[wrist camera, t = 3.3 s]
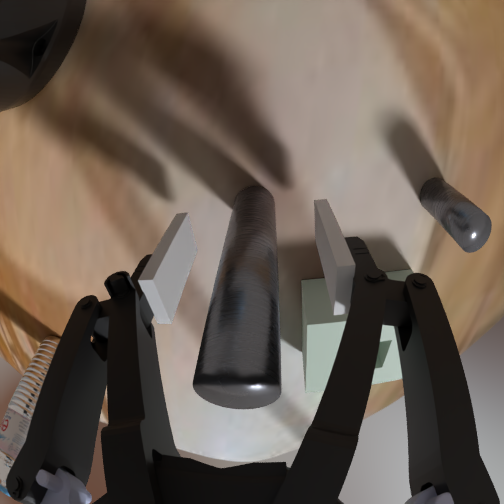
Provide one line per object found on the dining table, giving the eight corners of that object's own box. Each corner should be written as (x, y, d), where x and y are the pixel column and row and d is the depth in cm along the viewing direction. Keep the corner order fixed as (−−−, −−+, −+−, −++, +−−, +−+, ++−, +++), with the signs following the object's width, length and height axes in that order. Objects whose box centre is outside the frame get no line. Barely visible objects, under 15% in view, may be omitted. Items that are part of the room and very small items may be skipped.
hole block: (301, 280, 23) (307, 325, 19) (411, 269, 22) (433, 308, 18) (302, 352, 29) (305, 392, 25) (390, 341, 28) (402, 378, 24)
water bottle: (62, 361, 35) (10, 491, 14) (37, 332, 32) (-27, 470, 11) (91, 365, 34) (40, 513, 13) (65, 334, 31) (-2, 494, 10)
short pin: (421, 177, 18) (465, 213, 13) (450, 177, 18) (495, 212, 13) (417, 211, 19) (455, 254, 14) (445, 210, 19) (485, 250, 14)
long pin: (231, 188, 19) (181, 366, 8) (272, 184, 19) (278, 366, 7) (237, 224, 21) (205, 408, 9) (276, 220, 21) (283, 407, 9)
